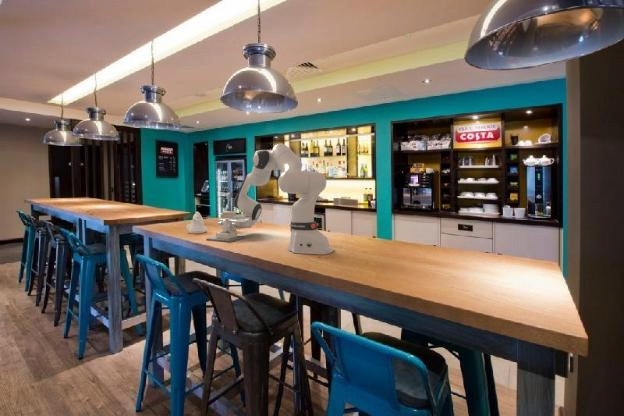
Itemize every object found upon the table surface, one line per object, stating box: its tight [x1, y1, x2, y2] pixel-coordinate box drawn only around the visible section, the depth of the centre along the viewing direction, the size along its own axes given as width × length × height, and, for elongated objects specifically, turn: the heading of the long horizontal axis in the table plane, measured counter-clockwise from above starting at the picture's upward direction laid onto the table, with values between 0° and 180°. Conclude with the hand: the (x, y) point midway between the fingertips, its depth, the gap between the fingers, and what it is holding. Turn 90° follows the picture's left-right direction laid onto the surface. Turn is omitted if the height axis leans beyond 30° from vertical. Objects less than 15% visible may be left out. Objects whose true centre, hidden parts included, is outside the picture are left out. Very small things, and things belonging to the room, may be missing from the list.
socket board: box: [205, 230, 247, 243], centre depth 204 cm, size 16×16×4 cm
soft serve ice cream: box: [186, 211, 208, 234], centre depth 229 cm, size 12×15×14 cm
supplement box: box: [221, 210, 237, 232], centre depth 233 cm, size 8×5×13 cm, turn 84°
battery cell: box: [223, 219, 230, 233], centre depth 204 cm, size 4×4×11 cm
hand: (226, 224), depth 203 cm, fingers open, 8 cm apart
